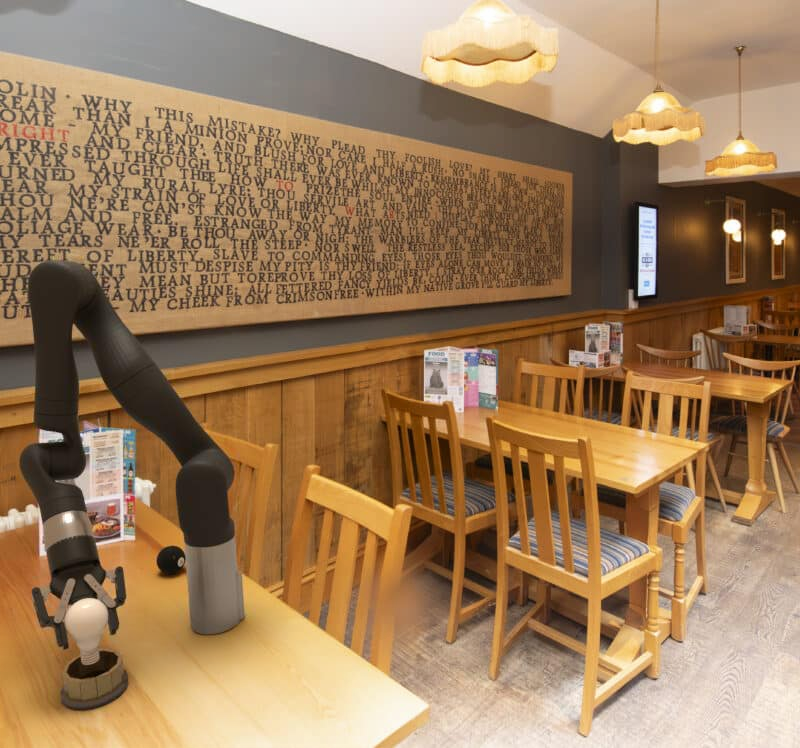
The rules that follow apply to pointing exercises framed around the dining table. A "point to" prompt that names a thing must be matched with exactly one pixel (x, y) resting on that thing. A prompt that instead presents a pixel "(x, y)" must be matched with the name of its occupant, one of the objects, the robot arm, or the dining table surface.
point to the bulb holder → (94, 681)
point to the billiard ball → (171, 559)
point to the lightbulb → (87, 627)
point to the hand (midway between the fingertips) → (90, 640)
